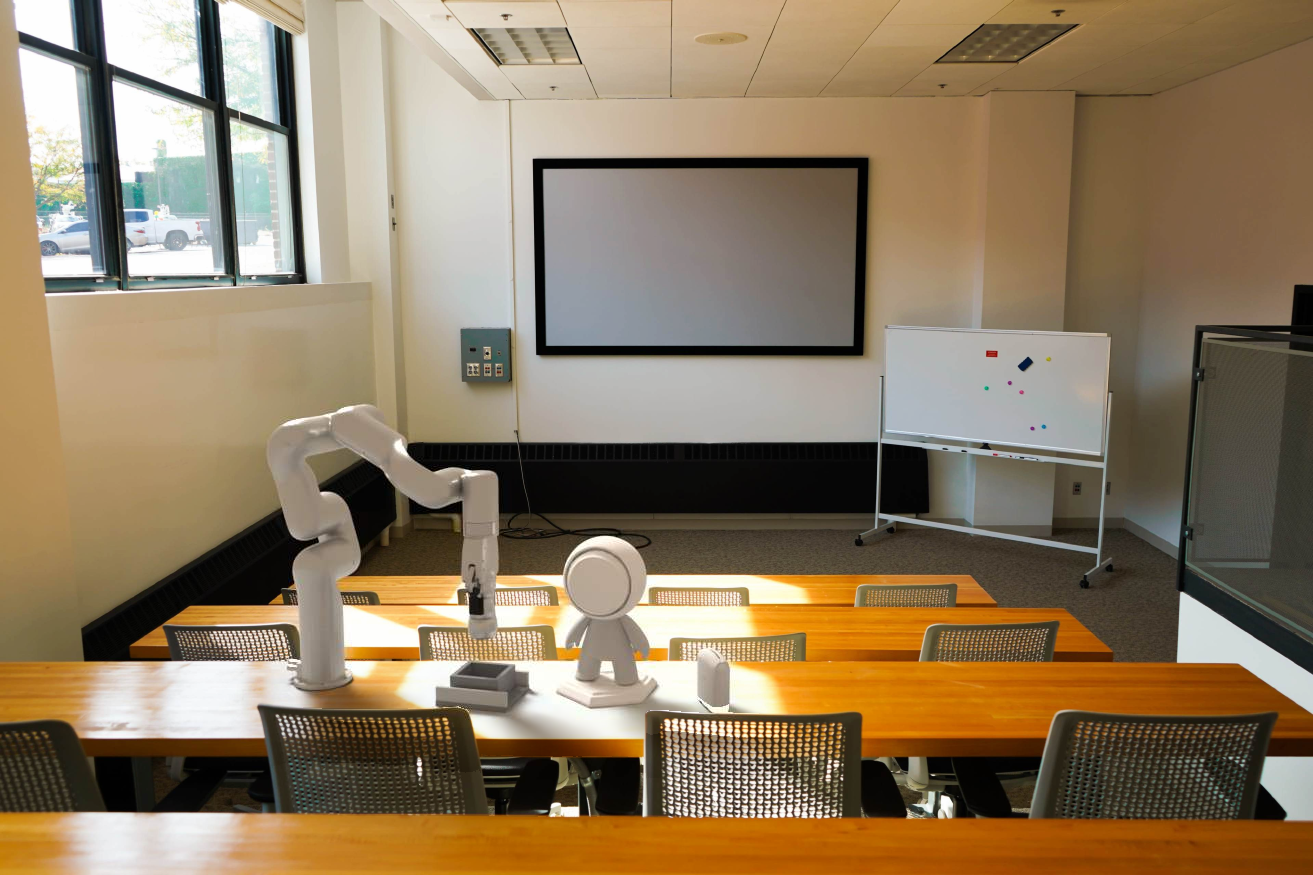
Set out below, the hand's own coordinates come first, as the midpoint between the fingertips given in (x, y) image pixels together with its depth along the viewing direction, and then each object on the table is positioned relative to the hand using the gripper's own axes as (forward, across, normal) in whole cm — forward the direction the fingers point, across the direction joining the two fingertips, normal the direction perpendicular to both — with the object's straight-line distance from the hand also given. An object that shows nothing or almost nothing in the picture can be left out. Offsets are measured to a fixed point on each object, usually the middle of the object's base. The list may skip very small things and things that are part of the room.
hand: (482, 609), depth 210 cm
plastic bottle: (+7, 0, 0) cm, 7 cm away
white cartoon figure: (+20, -11, +25) cm, 34 cm away
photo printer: (+20, -6, +50) cm, 54 cm away
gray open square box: (+20, 0, 0) cm, 20 cm away
